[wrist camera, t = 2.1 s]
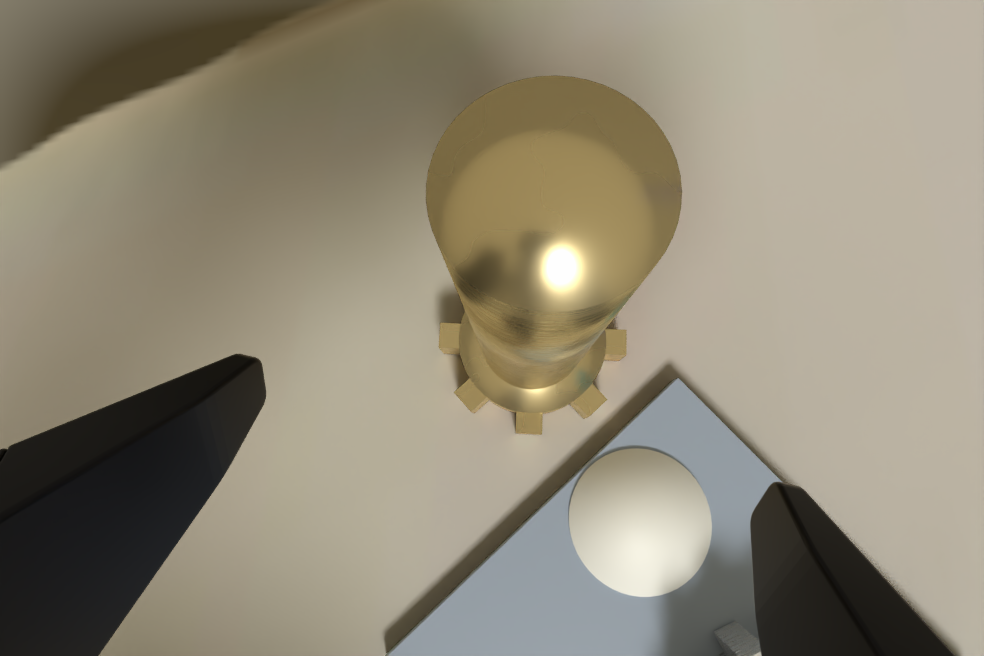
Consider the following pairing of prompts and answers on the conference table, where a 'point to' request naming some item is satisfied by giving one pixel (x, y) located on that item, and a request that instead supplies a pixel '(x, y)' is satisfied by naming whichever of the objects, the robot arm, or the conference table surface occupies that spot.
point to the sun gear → (737, 641)
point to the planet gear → (547, 237)
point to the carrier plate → (620, 551)
